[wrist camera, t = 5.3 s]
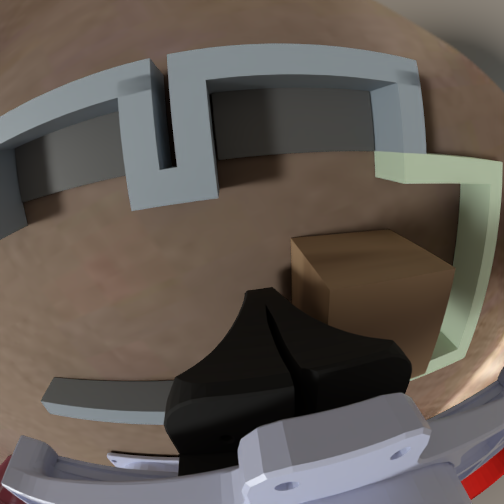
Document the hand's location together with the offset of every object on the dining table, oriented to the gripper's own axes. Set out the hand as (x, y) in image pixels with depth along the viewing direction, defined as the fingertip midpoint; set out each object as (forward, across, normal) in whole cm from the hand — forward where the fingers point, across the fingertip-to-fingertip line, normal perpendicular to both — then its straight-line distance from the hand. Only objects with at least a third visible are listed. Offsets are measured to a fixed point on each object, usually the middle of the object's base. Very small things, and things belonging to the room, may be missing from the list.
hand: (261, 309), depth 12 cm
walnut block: (+1, -4, 0) cm, 4 cm away
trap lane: (+1, 0, -2) cm, 2 cm away
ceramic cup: (+2, -38, +40) cm, 55 cm away
